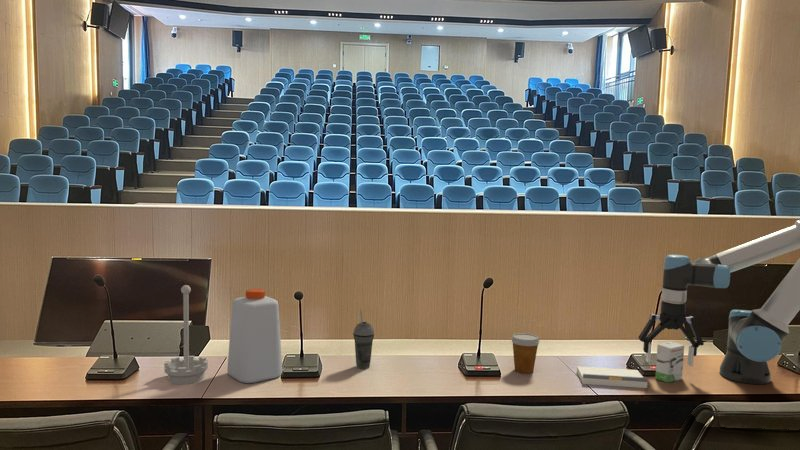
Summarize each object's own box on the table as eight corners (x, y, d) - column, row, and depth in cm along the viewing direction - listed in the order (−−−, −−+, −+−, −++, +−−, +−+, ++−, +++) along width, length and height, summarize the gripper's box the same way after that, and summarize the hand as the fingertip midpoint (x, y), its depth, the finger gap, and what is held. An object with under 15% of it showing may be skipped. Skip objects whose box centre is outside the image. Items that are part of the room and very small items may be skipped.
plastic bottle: (222, 373, 196) (222, 288, 193) (264, 364, 206) (265, 284, 203) (244, 386, 184) (244, 297, 182) (287, 376, 194) (288, 291, 192)
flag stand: (212, 381, 188) (212, 287, 186) (168, 388, 182) (167, 290, 179) (202, 369, 199) (202, 280, 197) (161, 375, 193) (160, 283, 190)
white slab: (637, 375, 204) (637, 366, 204) (647, 388, 192) (647, 378, 192) (576, 372, 206) (577, 362, 206) (583, 384, 194) (583, 374, 194)
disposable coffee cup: (542, 369, 208) (543, 335, 207) (532, 377, 200) (534, 341, 199) (516, 364, 213) (517, 331, 212) (505, 371, 205) (507, 337, 204)
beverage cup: (373, 370, 202) (374, 312, 201) (351, 370, 202) (352, 311, 201) (374, 363, 210) (375, 307, 208) (353, 363, 210) (354, 306, 208)
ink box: (668, 383, 197) (670, 348, 196) (654, 378, 201) (656, 344, 200) (683, 378, 202) (685, 344, 201) (669, 374, 206) (671, 340, 205)
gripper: (708, 301, 202) (703, 362, 204) (631, 296, 205) (627, 357, 206) (717, 306, 194) (712, 369, 196) (637, 301, 197) (633, 364, 199)
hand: (668, 363), depth 201 cm, fingers open, 13 cm apart
